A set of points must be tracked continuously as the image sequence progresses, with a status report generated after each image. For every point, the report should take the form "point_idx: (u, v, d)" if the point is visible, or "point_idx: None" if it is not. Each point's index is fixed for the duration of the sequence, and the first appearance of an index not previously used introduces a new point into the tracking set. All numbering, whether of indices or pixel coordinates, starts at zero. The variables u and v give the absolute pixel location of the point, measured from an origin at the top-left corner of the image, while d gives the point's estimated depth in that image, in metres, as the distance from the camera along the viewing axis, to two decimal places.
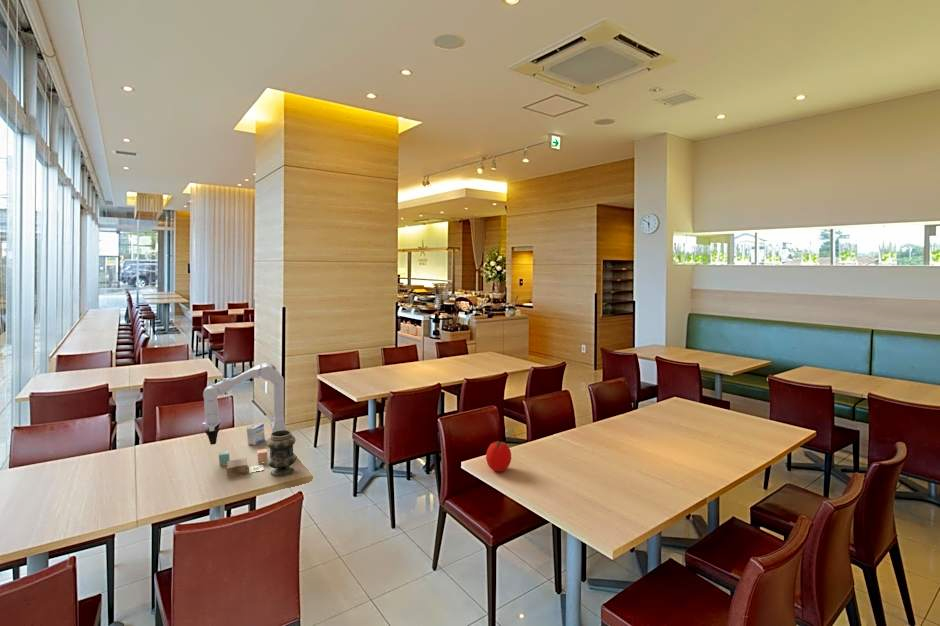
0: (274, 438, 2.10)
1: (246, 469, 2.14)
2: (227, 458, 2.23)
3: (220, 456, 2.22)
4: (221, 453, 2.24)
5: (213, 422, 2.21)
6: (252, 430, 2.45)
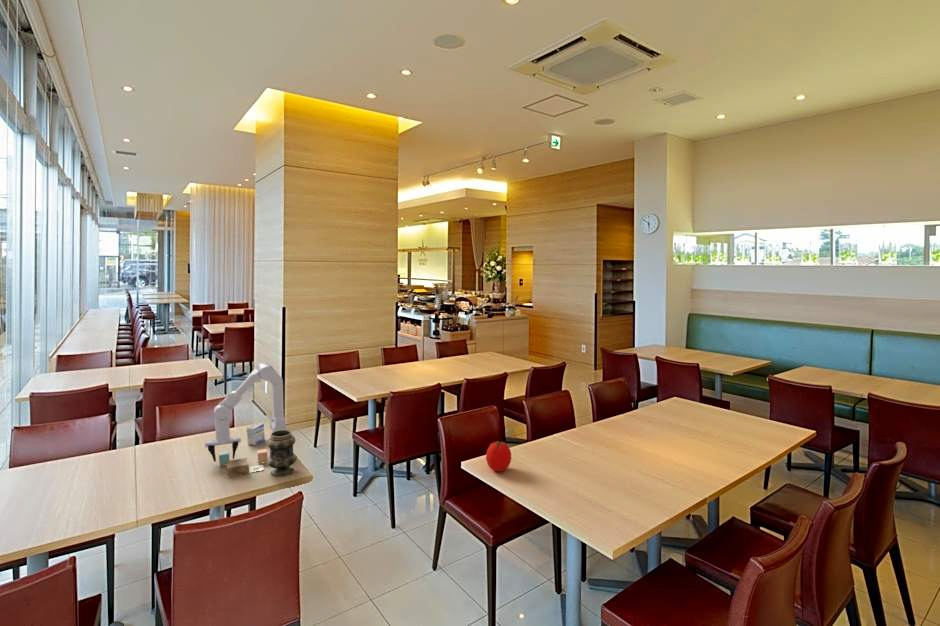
0: (274, 438, 2.10)
1: (246, 469, 2.14)
2: (227, 458, 2.23)
3: (220, 456, 2.22)
4: (221, 453, 2.24)
5: (216, 440, 2.22)
6: (252, 430, 2.45)
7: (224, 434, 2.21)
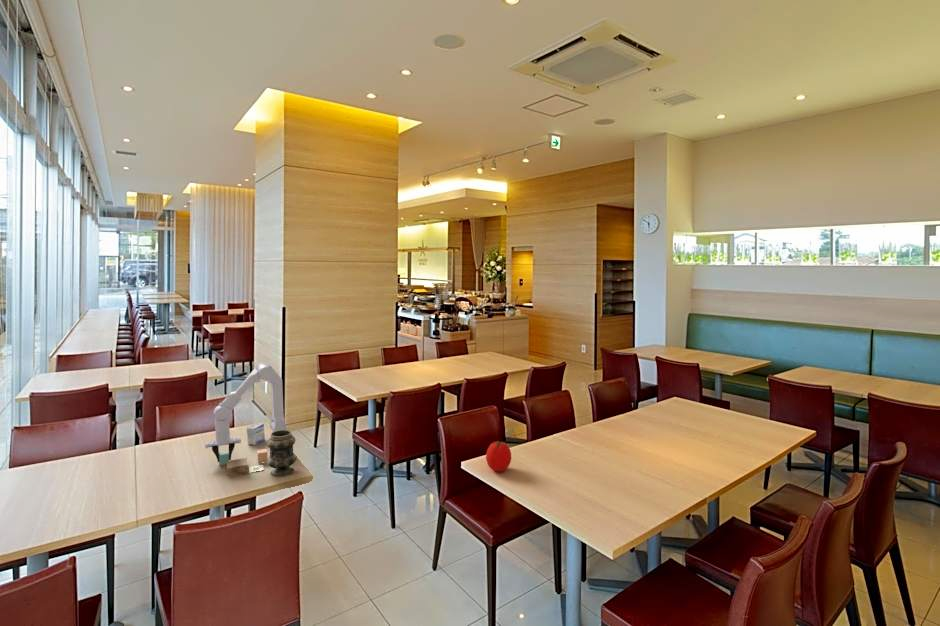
0: (274, 438, 2.10)
1: (246, 469, 2.14)
2: (227, 458, 2.23)
3: (220, 456, 2.22)
4: (221, 453, 2.24)
5: (216, 441, 2.22)
6: (252, 430, 2.45)
7: (224, 435, 2.21)
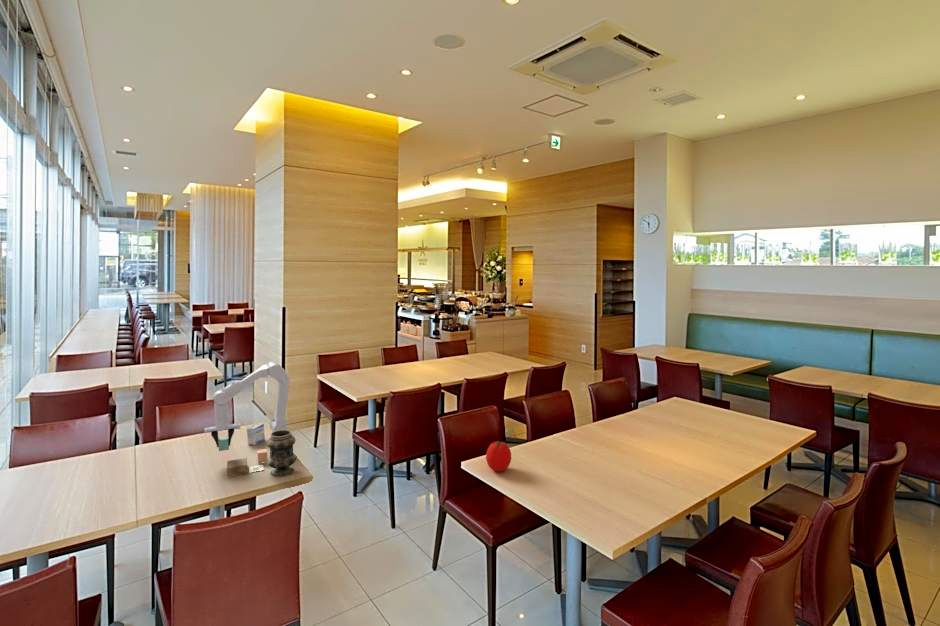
0: (274, 438, 2.10)
1: (246, 469, 2.14)
2: (226, 443, 2.22)
3: (219, 441, 2.21)
4: (221, 438, 2.23)
5: (215, 426, 2.21)
6: (252, 430, 2.45)
7: (223, 420, 2.20)
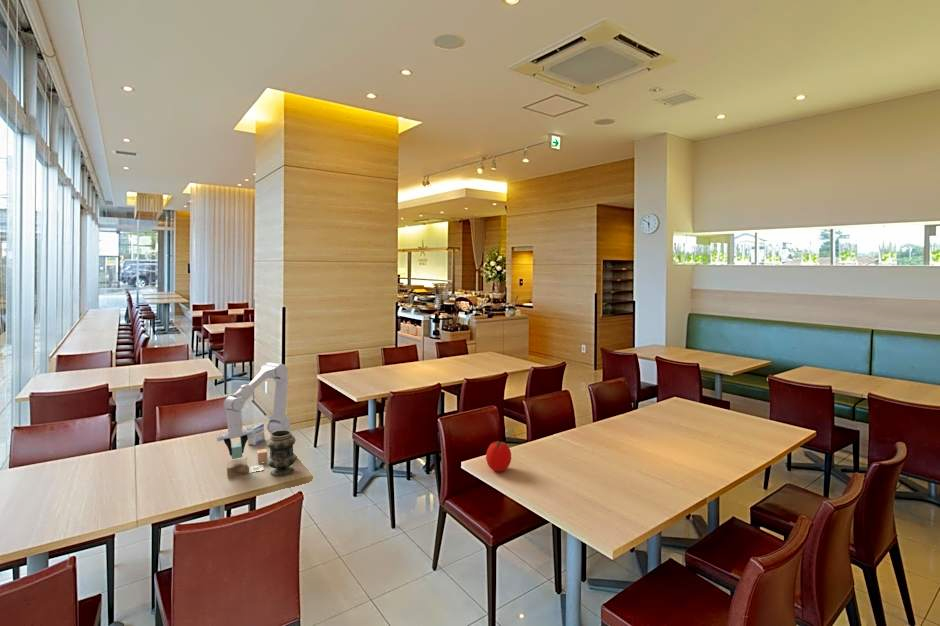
0: (274, 438, 2.10)
1: (246, 469, 2.14)
2: (240, 451, 2.15)
3: (233, 449, 2.13)
4: (234, 446, 2.14)
5: (228, 433, 2.12)
6: None
7: (238, 427, 2.12)
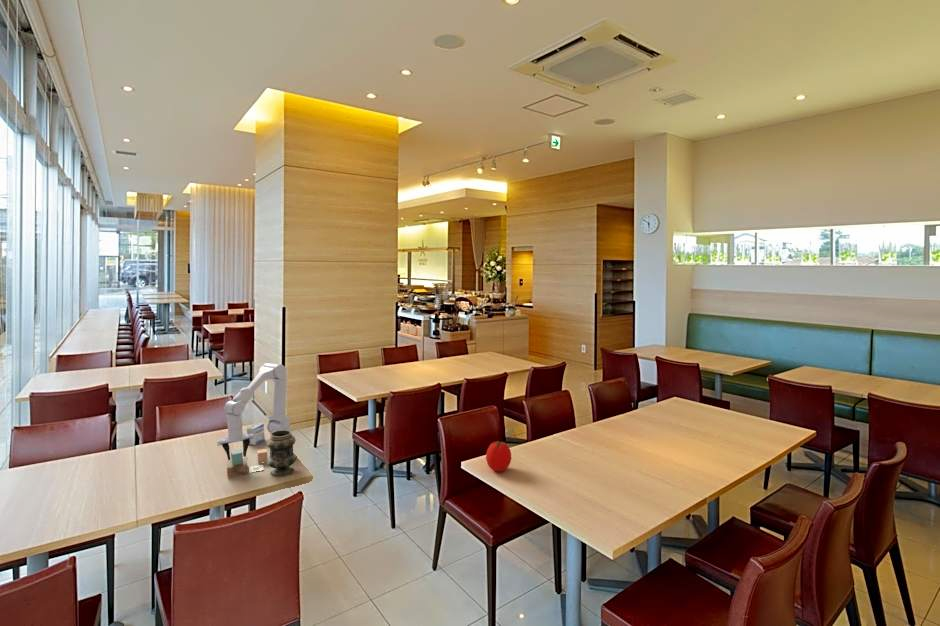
0: (274, 438, 2.10)
1: (246, 469, 2.14)
2: (241, 457, 2.15)
3: (233, 455, 2.13)
4: (234, 452, 2.15)
5: (228, 438, 2.13)
6: (252, 430, 2.45)
7: (238, 431, 2.12)
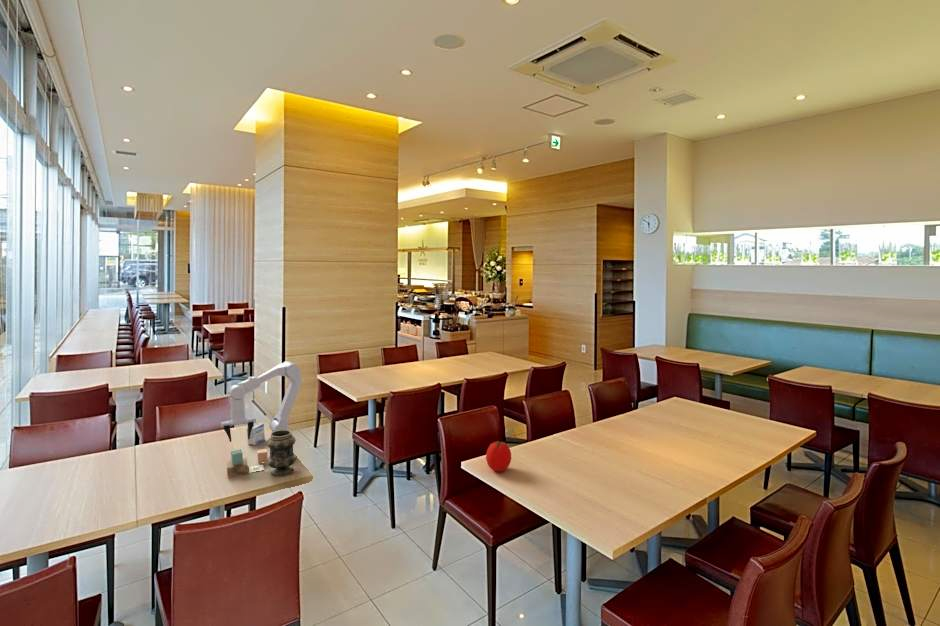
0: (274, 438, 2.10)
1: (246, 469, 2.14)
2: (241, 457, 2.15)
3: (233, 455, 2.13)
4: (234, 452, 2.15)
5: (231, 420, 2.23)
6: (252, 430, 2.45)
7: (240, 414, 2.22)
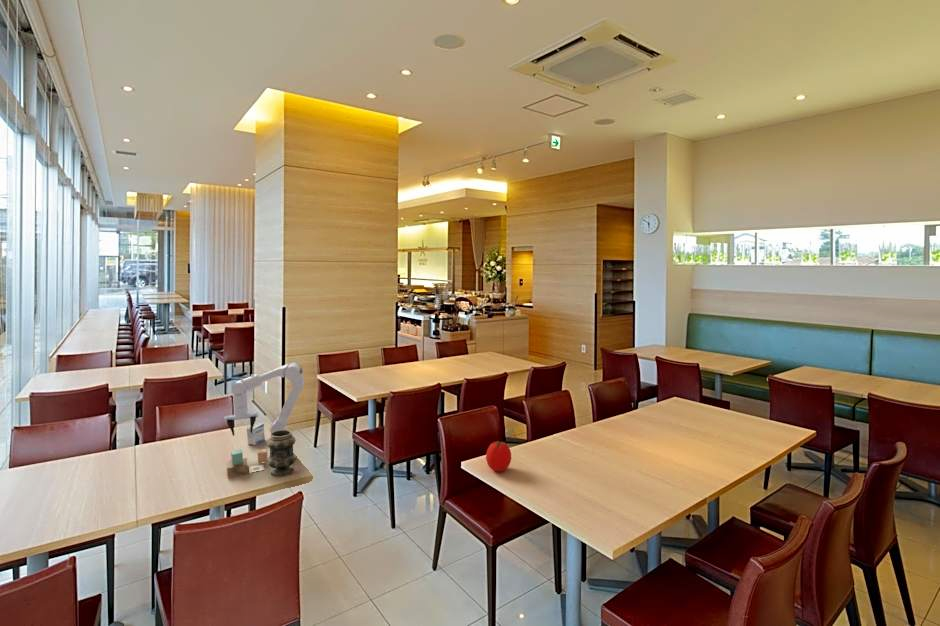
0: (274, 438, 2.10)
1: (246, 469, 2.14)
2: (241, 457, 2.15)
3: (233, 455, 2.13)
4: (234, 452, 2.15)
5: (234, 415, 2.30)
6: (252, 430, 2.45)
7: (242, 409, 2.30)
